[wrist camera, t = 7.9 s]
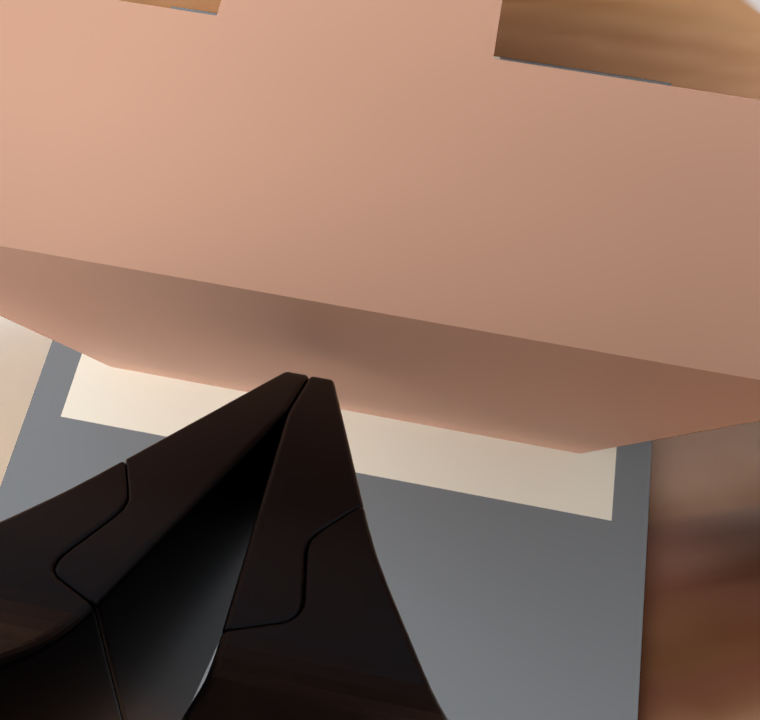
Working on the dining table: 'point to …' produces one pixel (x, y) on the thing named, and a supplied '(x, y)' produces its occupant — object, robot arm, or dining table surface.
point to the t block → (381, 216)
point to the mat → (423, 533)
